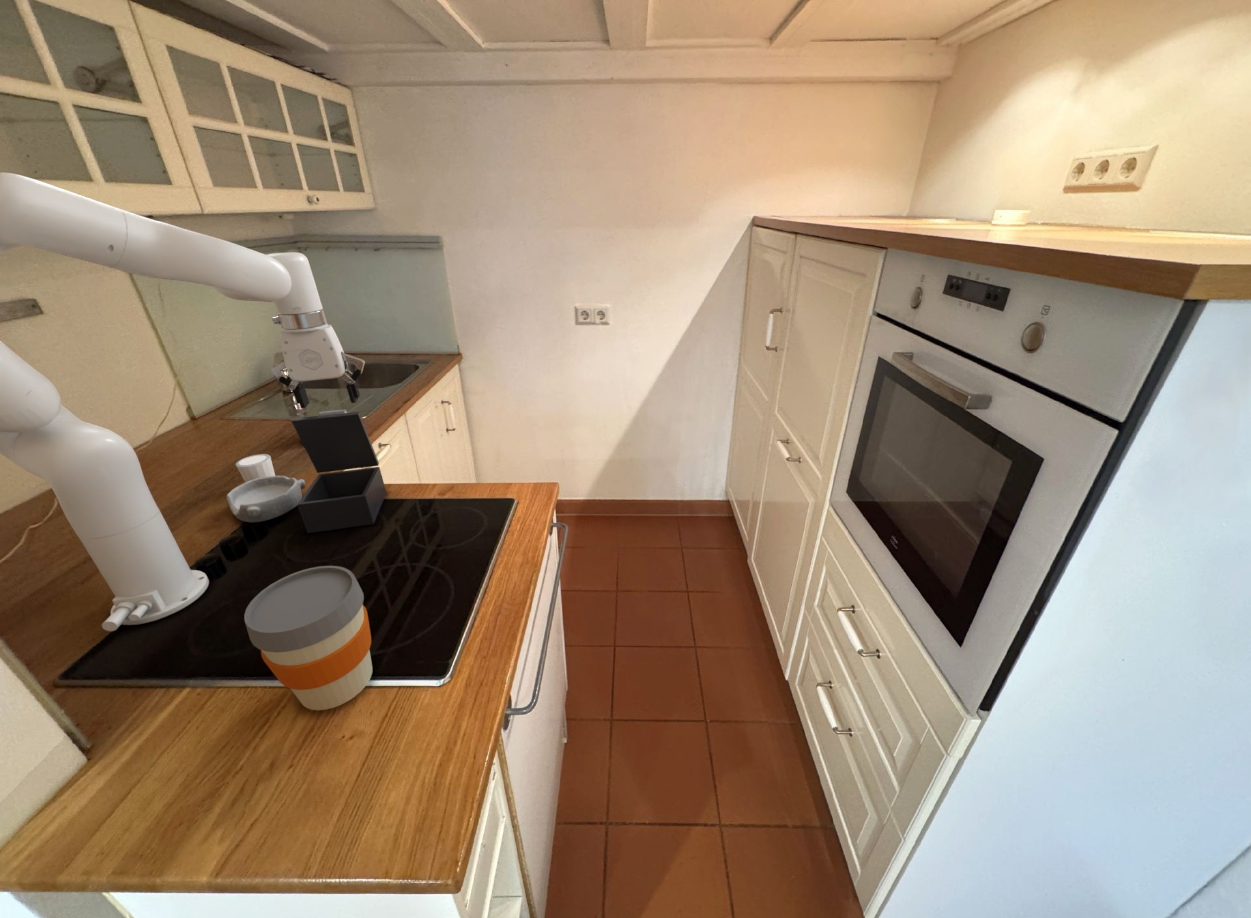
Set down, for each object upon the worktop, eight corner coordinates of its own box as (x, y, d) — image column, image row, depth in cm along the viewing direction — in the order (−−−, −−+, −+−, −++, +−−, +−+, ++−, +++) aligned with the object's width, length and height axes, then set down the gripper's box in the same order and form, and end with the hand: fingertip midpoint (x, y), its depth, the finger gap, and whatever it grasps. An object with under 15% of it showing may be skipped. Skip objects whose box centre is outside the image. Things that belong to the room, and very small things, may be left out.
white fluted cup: (240, 489, 119) (229, 463, 116) (269, 476, 125) (259, 451, 122) (256, 495, 116) (245, 468, 113) (286, 482, 122) (276, 456, 119)
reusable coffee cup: (401, 645, 74) (376, 564, 67) (358, 723, 62) (322, 634, 56) (318, 645, 74) (285, 564, 68) (261, 723, 63) (214, 634, 56)
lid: (358, 414, 103) (362, 400, 107) (291, 421, 100) (297, 406, 104) (378, 465, 112) (381, 451, 116) (317, 473, 110) (322, 458, 113)
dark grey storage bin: (373, 524, 104) (365, 495, 101) (307, 533, 101) (296, 504, 98) (386, 492, 116) (379, 466, 113) (327, 500, 113) (318, 473, 110)
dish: (264, 529, 103) (256, 508, 101) (216, 520, 107) (206, 500, 105) (321, 495, 115) (315, 476, 113) (276, 488, 119) (269, 469, 117)
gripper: (246, 328, 93) (278, 414, 100) (346, 321, 96) (370, 404, 103) (263, 320, 99) (291, 402, 107) (356, 314, 102) (377, 393, 110)
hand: (330, 403), depth 105 cm, fingers open, 9 cm apart
